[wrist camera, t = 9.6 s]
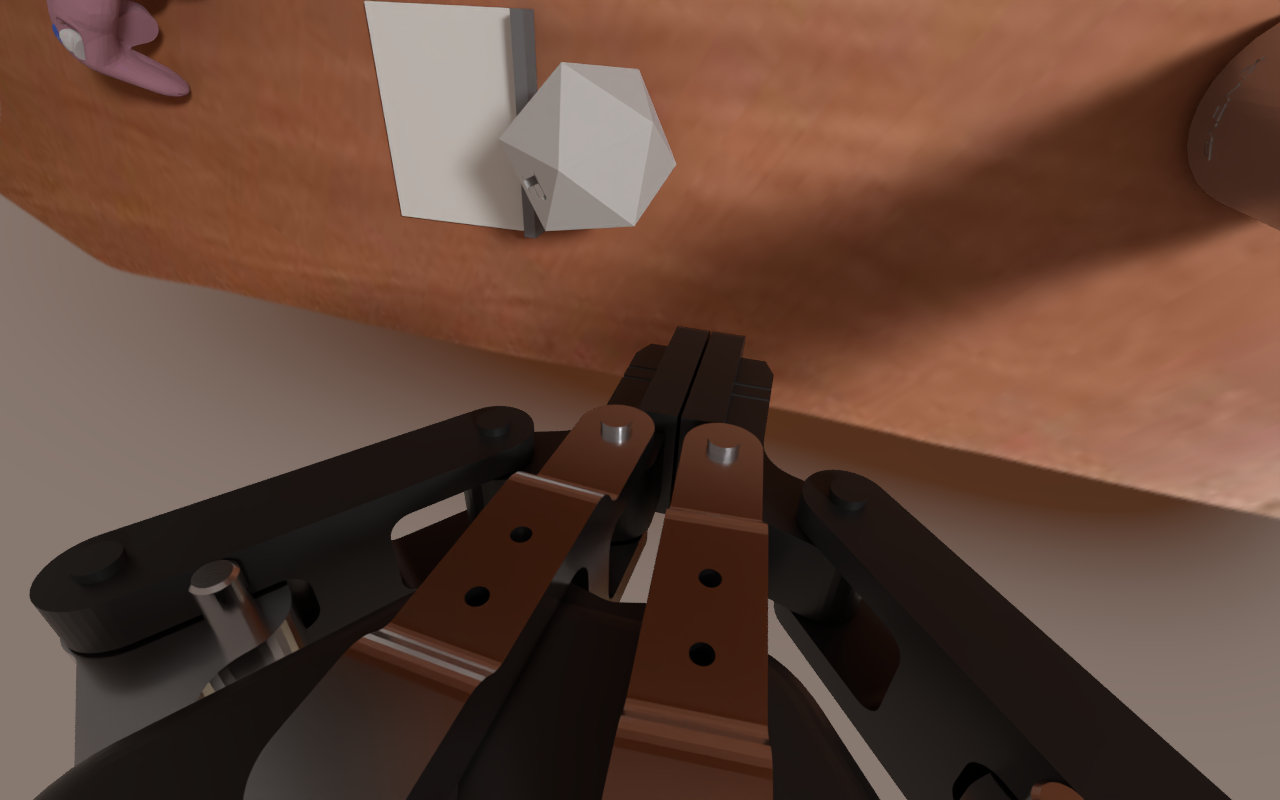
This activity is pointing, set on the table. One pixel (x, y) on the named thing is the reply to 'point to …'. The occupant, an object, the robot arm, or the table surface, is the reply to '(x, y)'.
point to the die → (589, 148)
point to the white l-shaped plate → (455, 108)
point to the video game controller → (114, 41)
